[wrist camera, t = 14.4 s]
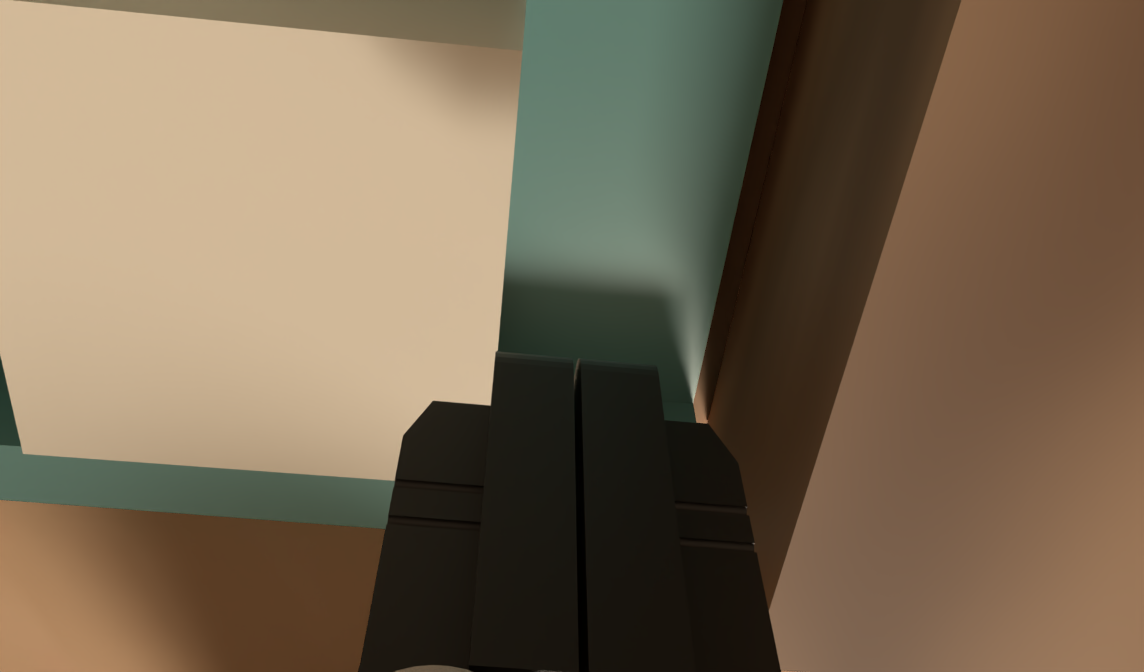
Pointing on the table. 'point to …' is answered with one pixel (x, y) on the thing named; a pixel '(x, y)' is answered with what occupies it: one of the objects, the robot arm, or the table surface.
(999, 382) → the walnut board
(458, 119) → the tile
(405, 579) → the robot arm
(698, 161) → the tray
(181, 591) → the table surface
